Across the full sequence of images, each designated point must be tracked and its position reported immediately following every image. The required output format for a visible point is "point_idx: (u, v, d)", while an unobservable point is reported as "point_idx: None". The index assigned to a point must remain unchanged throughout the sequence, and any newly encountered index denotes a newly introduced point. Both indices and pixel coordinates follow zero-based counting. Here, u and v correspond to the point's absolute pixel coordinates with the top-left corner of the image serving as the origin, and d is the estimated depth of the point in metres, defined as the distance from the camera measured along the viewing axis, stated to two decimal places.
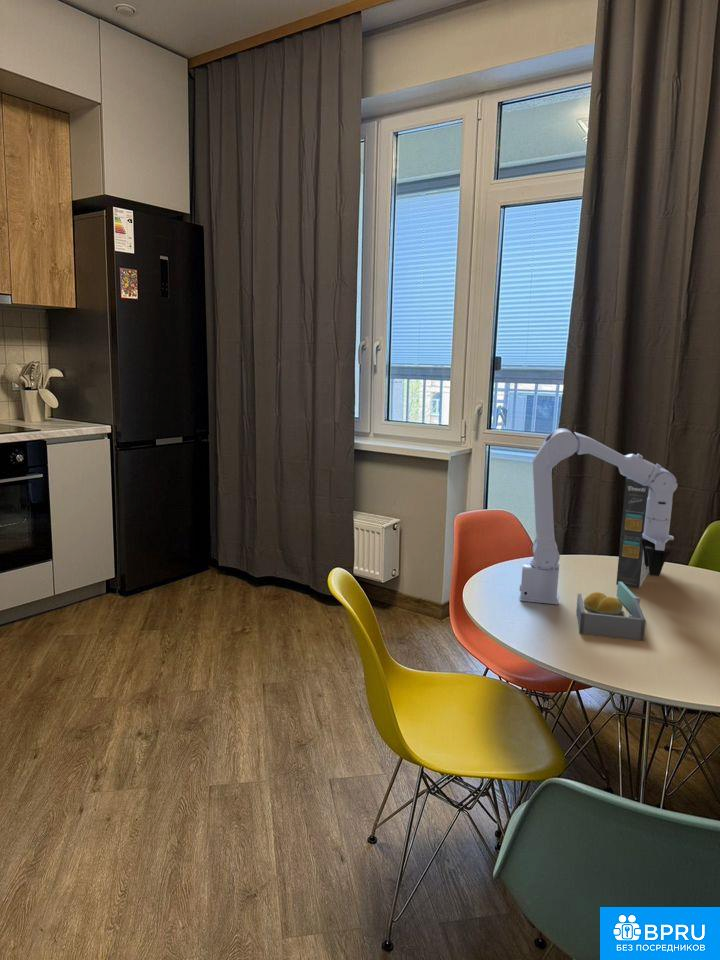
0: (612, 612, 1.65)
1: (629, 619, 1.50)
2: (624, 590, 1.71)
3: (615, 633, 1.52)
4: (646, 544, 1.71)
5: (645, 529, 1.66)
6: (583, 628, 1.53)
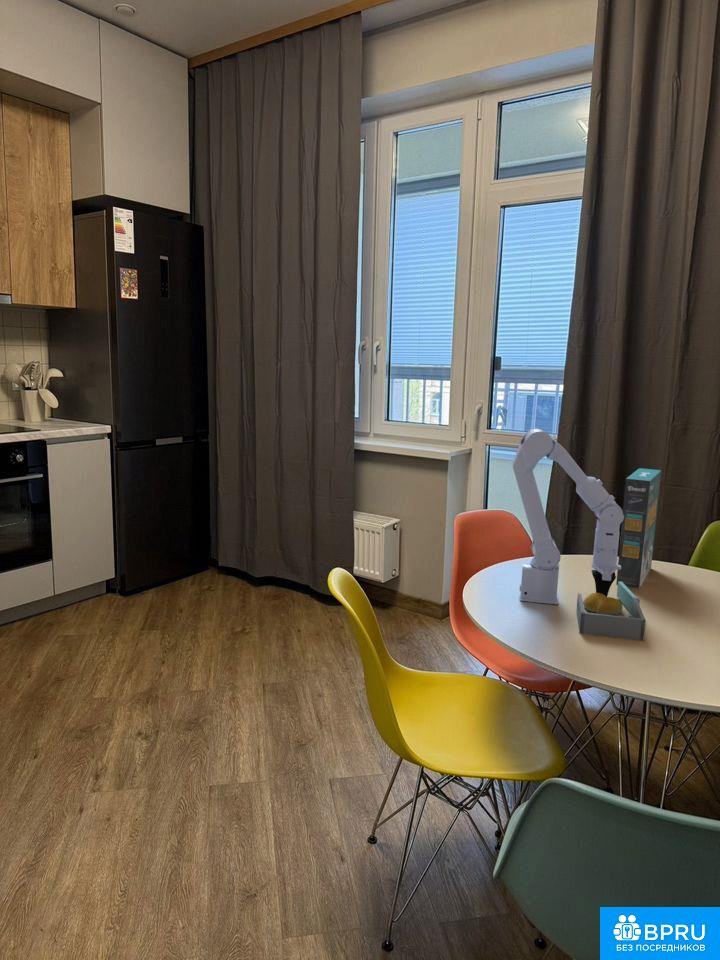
0: (612, 612, 1.64)
1: (629, 619, 1.50)
2: (624, 590, 1.71)
3: (615, 633, 1.52)
4: None
5: (594, 559, 1.71)
6: (583, 628, 1.53)
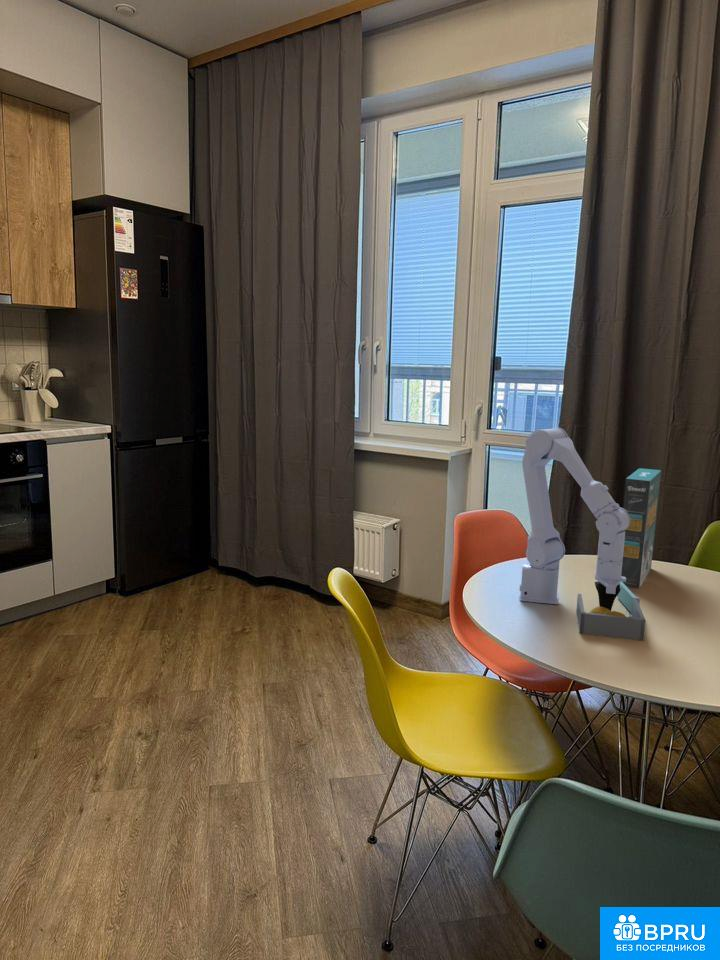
0: None
1: (629, 619, 1.50)
2: (624, 590, 1.71)
3: (615, 633, 1.52)
4: None
5: (597, 570, 1.62)
6: (583, 628, 1.53)
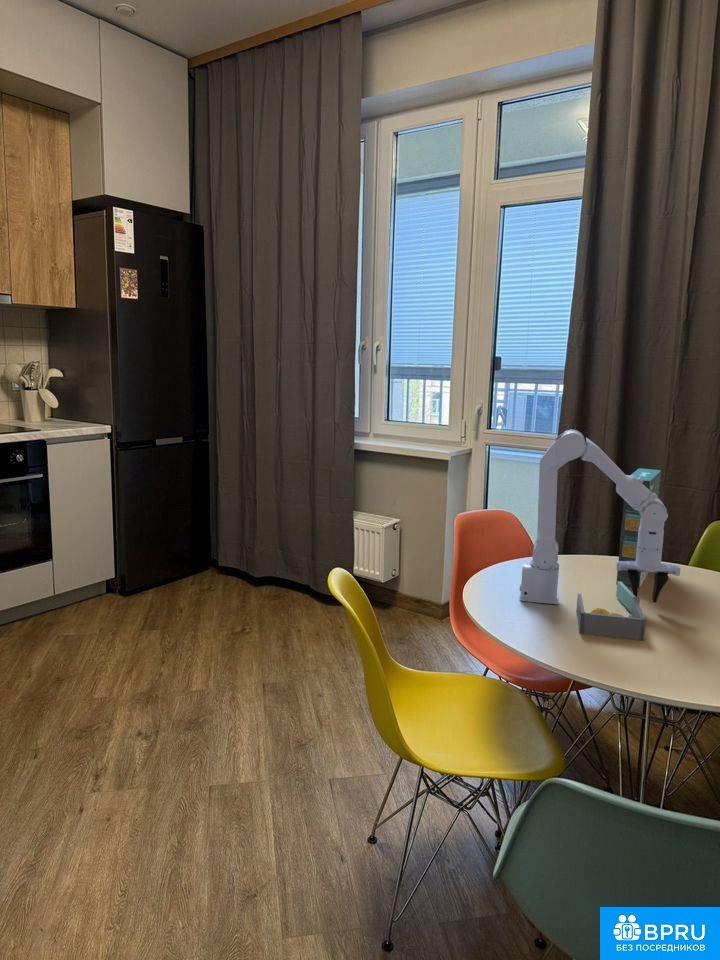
0: None
1: (629, 619, 1.50)
2: (624, 590, 1.71)
3: (615, 633, 1.52)
4: (654, 577, 1.68)
5: None
6: (583, 628, 1.53)
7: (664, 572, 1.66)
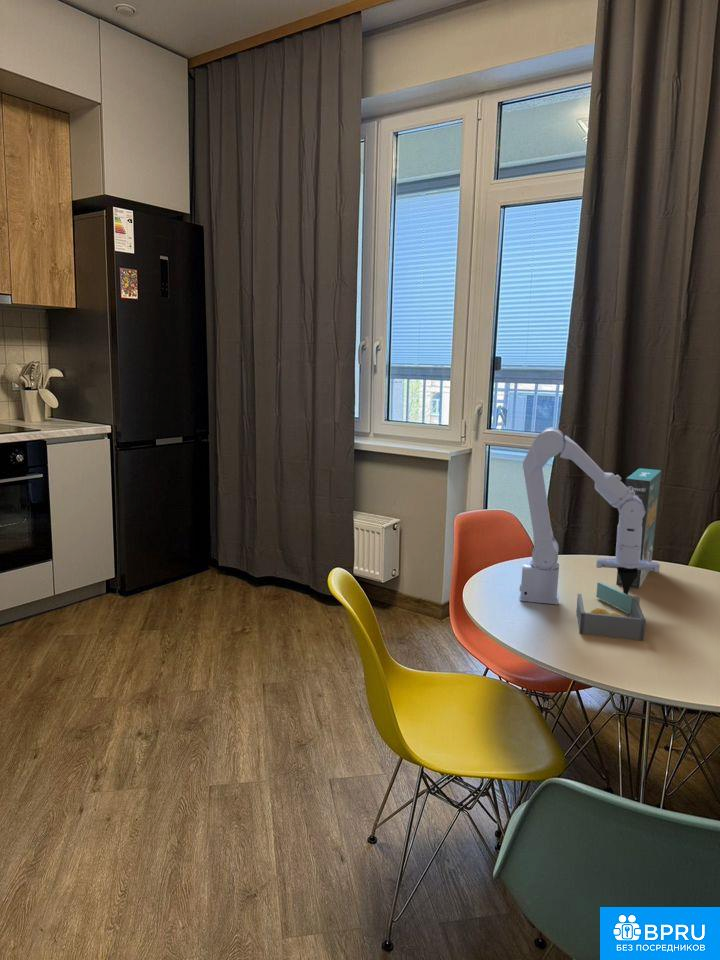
0: None
1: (629, 619, 1.50)
2: (612, 591, 1.70)
3: (615, 633, 1.52)
4: None
5: None
6: (583, 628, 1.53)
7: (634, 568, 1.67)
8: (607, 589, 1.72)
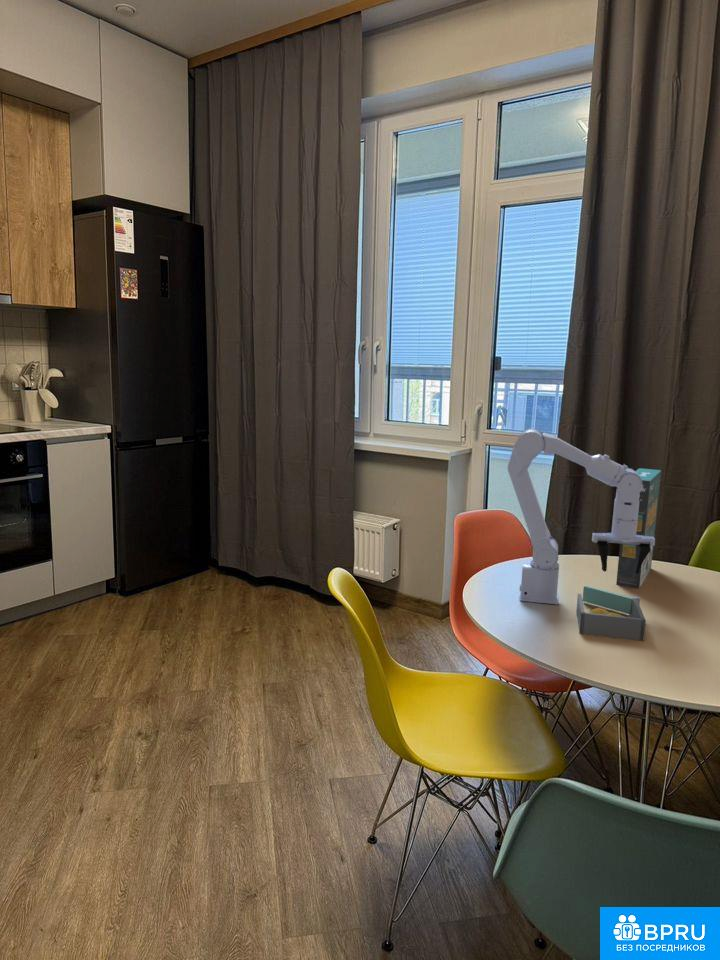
0: None
1: (629, 619, 1.50)
2: (605, 593, 1.69)
3: (615, 633, 1.52)
4: (636, 549, 1.69)
5: None
6: (583, 628, 1.53)
7: (646, 543, 1.66)
8: (597, 592, 1.70)
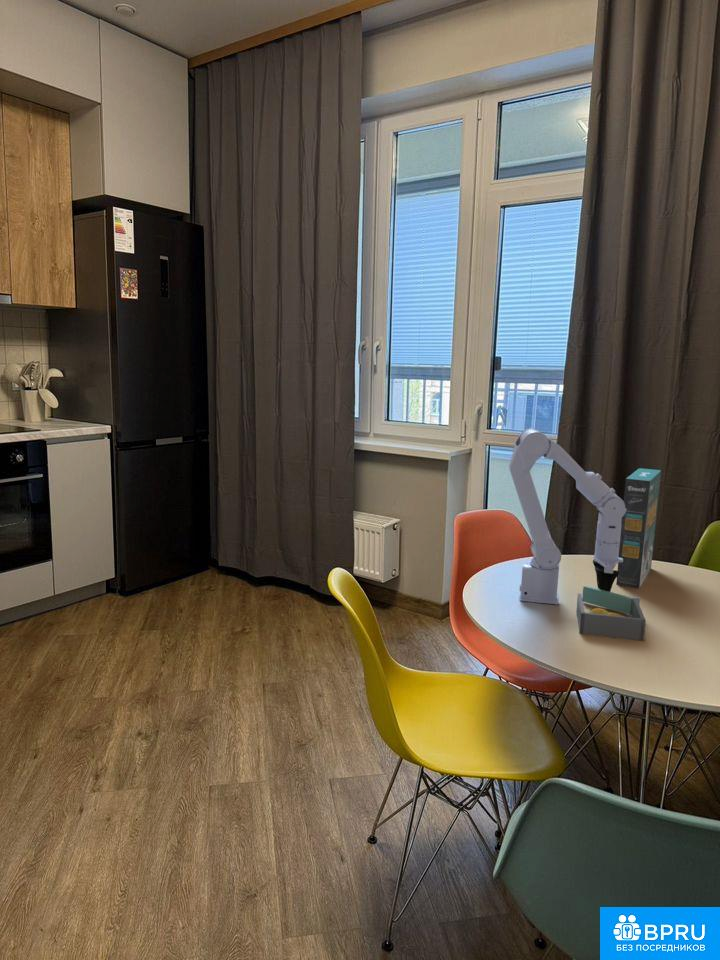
0: None
1: (629, 619, 1.50)
2: (604, 593, 1.68)
3: (615, 633, 1.52)
4: (598, 567, 1.75)
5: (596, 552, 1.71)
6: (583, 628, 1.53)
7: None
8: (597, 592, 1.70)
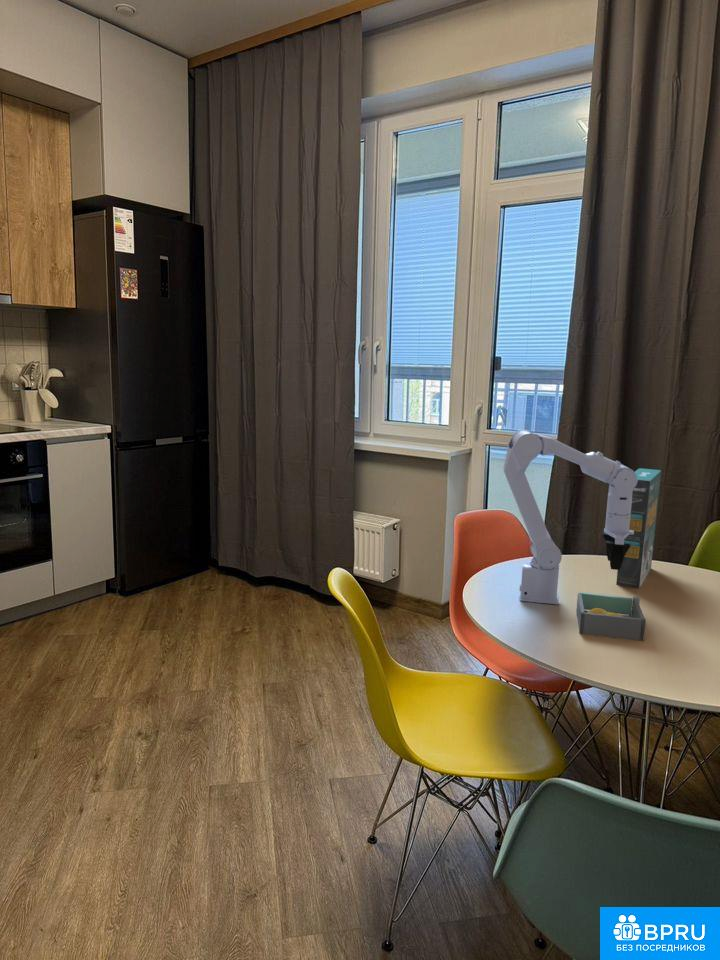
0: None
1: (629, 619, 1.50)
2: (602, 597, 1.65)
3: (615, 633, 1.52)
4: (608, 539, 1.75)
5: (606, 524, 1.71)
6: (583, 628, 1.53)
7: None
8: (594, 597, 1.66)
